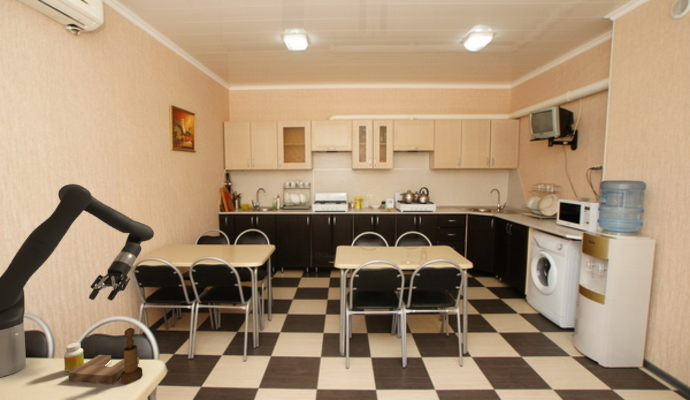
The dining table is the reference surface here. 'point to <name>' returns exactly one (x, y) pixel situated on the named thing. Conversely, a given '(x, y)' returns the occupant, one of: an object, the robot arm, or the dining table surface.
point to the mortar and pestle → (130, 360)
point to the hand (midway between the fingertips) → (100, 299)
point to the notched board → (98, 371)
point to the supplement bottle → (73, 357)
